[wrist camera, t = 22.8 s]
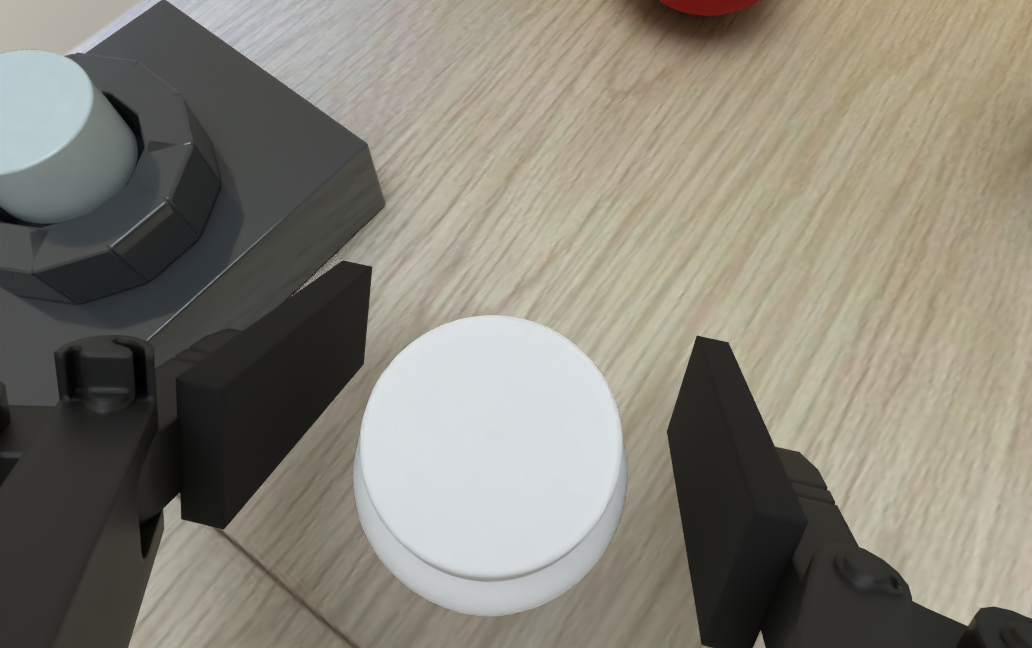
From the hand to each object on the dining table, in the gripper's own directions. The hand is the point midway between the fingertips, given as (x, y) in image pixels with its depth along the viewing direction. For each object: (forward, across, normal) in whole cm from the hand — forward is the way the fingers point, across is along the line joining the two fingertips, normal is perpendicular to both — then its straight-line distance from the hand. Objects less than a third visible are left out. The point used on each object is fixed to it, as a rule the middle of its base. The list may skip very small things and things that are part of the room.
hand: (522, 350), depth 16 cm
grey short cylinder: (+1, -12, +2) cm, 13 cm away
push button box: (+4, -12, -1) cm, 13 cm away
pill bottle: (0, 0, -5) cm, 5 cm away
